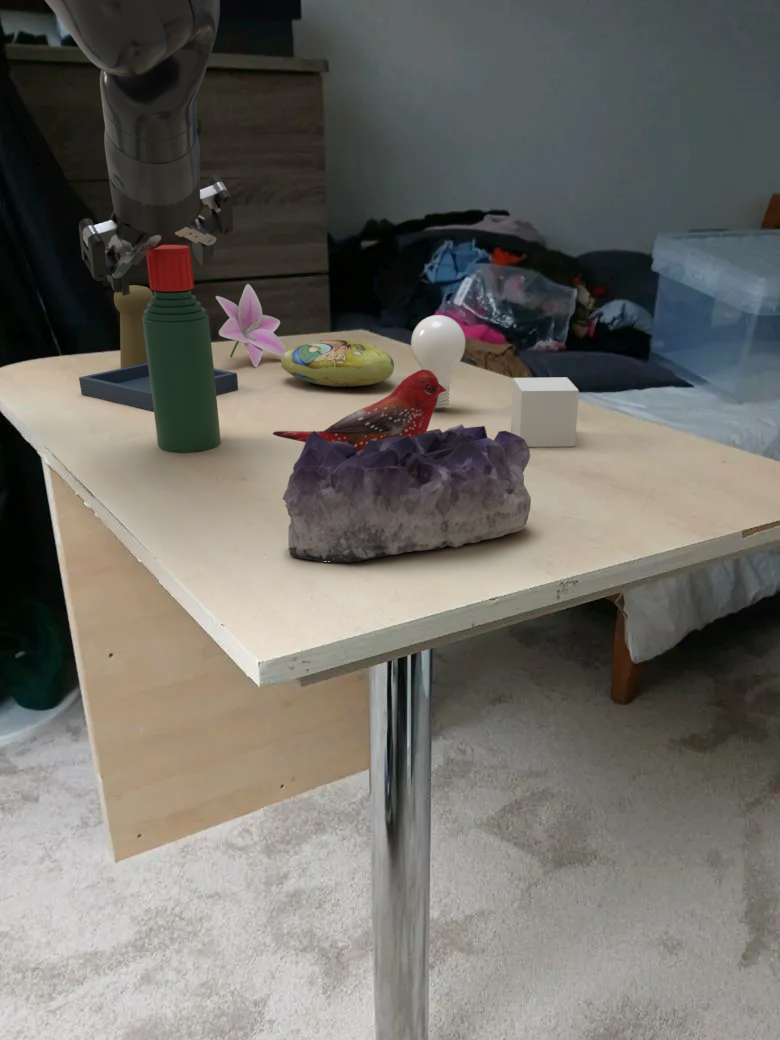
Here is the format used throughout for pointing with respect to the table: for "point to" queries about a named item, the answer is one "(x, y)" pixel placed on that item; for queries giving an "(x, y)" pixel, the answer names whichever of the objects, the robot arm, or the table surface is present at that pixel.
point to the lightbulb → (439, 350)
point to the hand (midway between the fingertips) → (161, 273)
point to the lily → (251, 326)
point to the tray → (139, 385)
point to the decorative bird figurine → (385, 414)
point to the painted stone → (338, 363)
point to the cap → (170, 268)
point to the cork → (132, 324)
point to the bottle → (181, 372)
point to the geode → (405, 493)
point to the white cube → (544, 411)
